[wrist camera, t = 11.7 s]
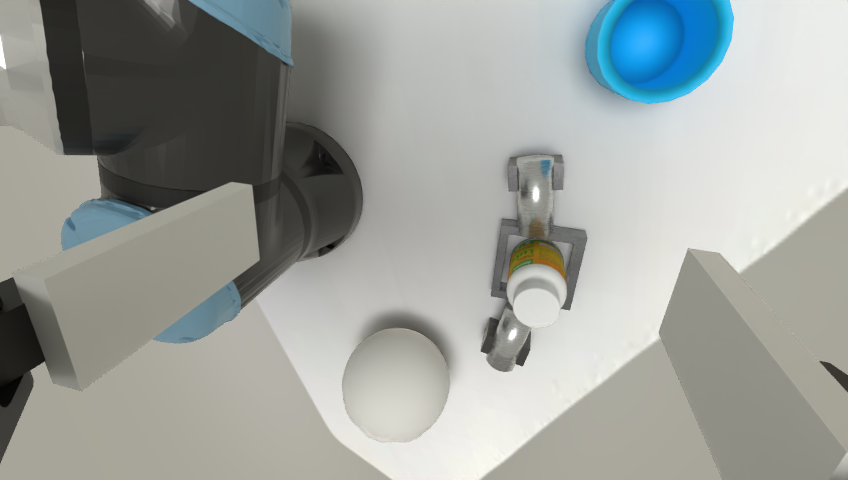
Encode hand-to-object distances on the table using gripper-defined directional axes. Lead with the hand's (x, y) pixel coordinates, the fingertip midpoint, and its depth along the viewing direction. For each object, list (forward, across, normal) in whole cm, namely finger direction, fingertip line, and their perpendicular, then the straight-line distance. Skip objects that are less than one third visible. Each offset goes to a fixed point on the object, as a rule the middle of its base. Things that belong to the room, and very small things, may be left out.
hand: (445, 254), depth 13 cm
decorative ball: (+31, -8, -29) cm, 43 cm away
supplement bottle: (+31, +5, -14) cm, 34 cm away
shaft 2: (+31, +4, -6) cm, 32 cm away
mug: (+31, +9, +9) cm, 34 cm away
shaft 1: (+31, +4, -22) cm, 38 cm away
